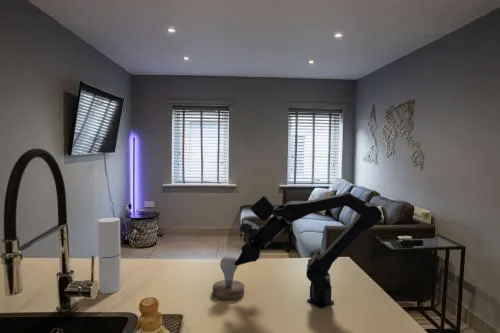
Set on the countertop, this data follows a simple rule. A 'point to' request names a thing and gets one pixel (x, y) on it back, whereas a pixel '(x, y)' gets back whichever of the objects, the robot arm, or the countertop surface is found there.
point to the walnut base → (228, 290)
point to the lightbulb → (228, 269)
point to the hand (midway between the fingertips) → (238, 260)
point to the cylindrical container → (109, 255)
